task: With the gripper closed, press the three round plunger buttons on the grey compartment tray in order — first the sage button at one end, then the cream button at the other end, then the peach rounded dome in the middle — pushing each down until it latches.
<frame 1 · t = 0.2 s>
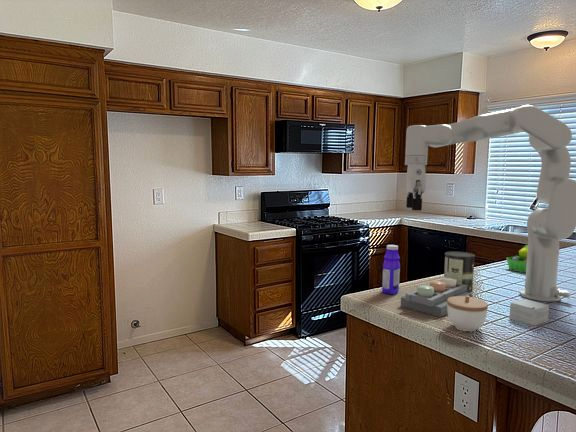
hand: (413, 208, 152), 31 cm above the countertop, tool pointing down, fingers open, 9 cm apart
fruit basket: (522, 270, 191), on the countertop
bottle: (390, 292, 155), on the countertop
small box: (528, 320, 128), on the countertop
coffee can: (457, 291, 157), on the countertop
peach rounded dome: (437, 287, 142), point 6 cm above the countertop, slide at 0.0 cm
sage button: (425, 292, 136), point 6 cm above the countertop, slide at 0.0 cm
grey compartment tray: (436, 303, 142), on the countertop
cream button: (448, 283, 147), point 6 cm above the countertop, slide at 0.0 cm
lidded jar: (465, 328, 121), on the countertop
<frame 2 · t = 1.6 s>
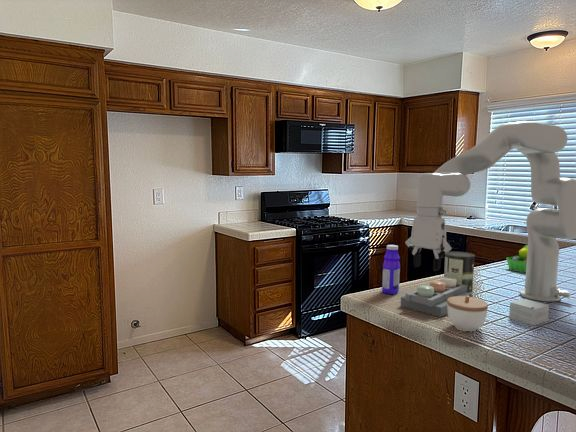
hand: (426, 268, 135), 14 cm above the countertop, tool pointing down, fingers open, 5 cm apart
nothing on the countertop moved.
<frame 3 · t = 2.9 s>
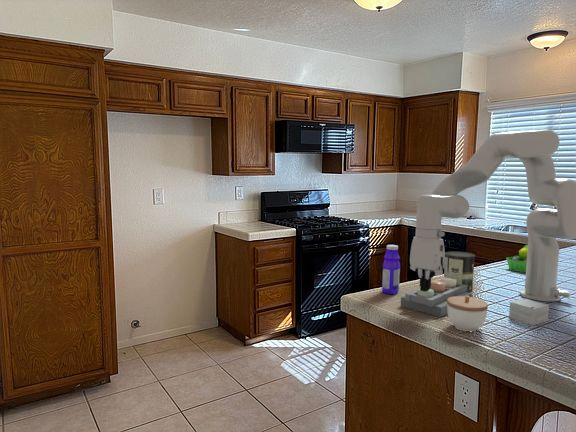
hand: (424, 290, 136), 6 cm above the countertop, tool pointing down, fingers closed
sage button: (425, 294, 136), point 5 cm above the countertop, slide at 0.9 cm
everything else where it was.
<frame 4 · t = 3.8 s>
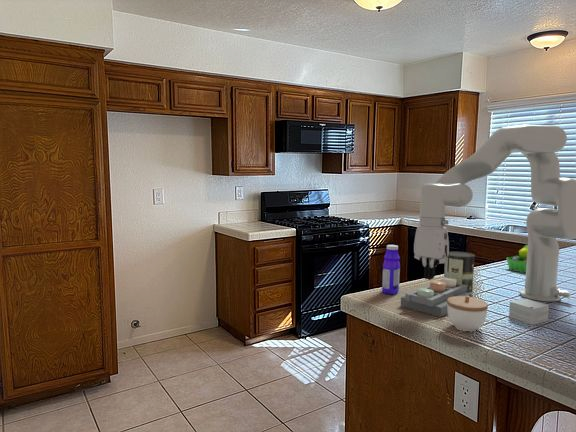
hand: (429, 278, 137), 10 cm above the countertop, tool pointing down, fingers closed
nothing on the countertop moved.
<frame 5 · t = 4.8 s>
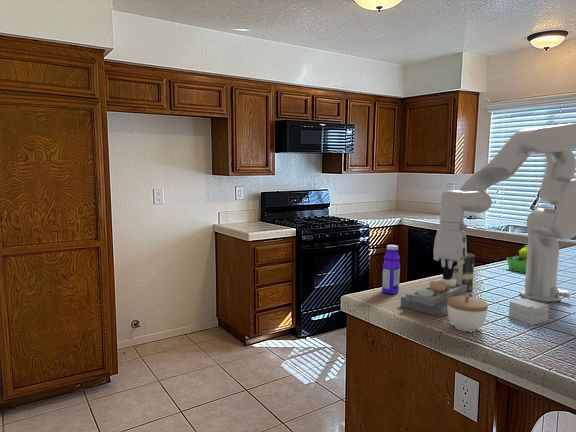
hand: (447, 278, 147), 7 cm above the countertop, tool pointing down, fingers closed
cream button: (448, 283, 147), point 6 cm above the countertop, slide at 0.0 cm, touching gripper
everything else where it was.
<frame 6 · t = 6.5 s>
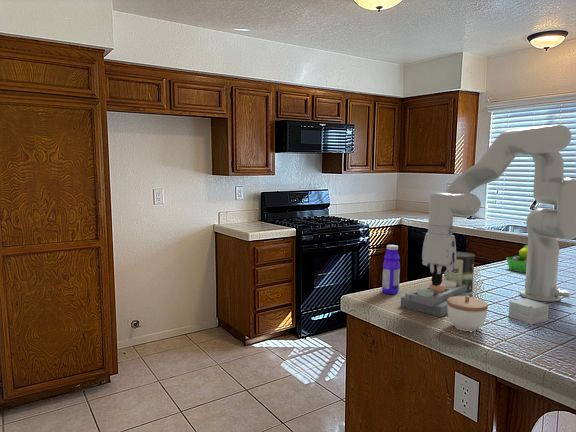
hand: (436, 284, 141), 7 cm above the countertop, tool pointing down, fingers closed
peach rounded dome: (437, 289, 142), point 5 cm above the countertop, slide at 0.6 cm, touching gripper
cream button: (448, 285, 147), point 5 cm above the countertop, slide at 1.0 cm
everything else where it was.
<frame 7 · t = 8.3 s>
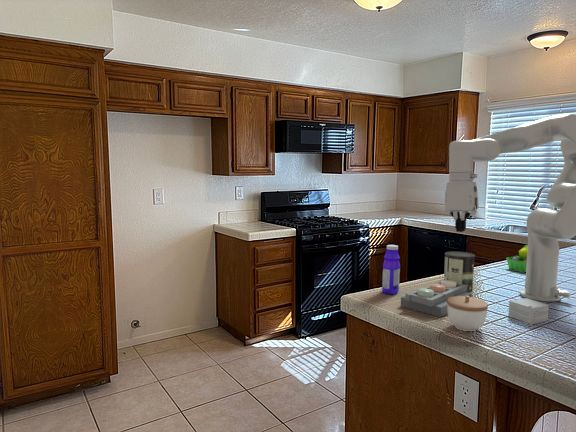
hand: (460, 231, 145), 24 cm above the countertop, tool pointing down, fingers closed
peach rounded dome: (437, 290, 142), point 5 cm above the countertop, slide at 1.0 cm
everything else where it was.
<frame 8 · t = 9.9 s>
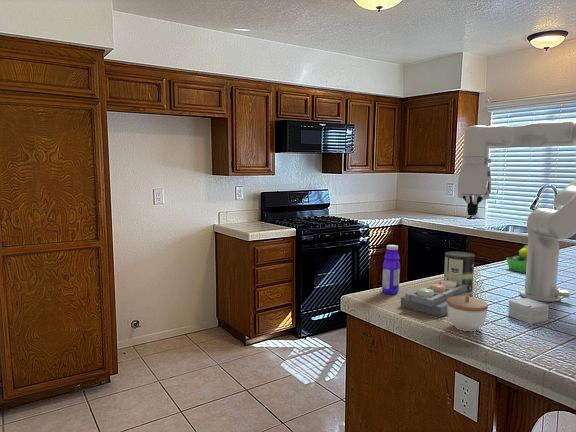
hand: (472, 215, 148), 29 cm above the countertop, tool pointing down, fingers closed
at the end: sage button slide at 1.0 cm; cream button slide at 1.0 cm; peach rounded dome slide at 1.0 cm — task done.
